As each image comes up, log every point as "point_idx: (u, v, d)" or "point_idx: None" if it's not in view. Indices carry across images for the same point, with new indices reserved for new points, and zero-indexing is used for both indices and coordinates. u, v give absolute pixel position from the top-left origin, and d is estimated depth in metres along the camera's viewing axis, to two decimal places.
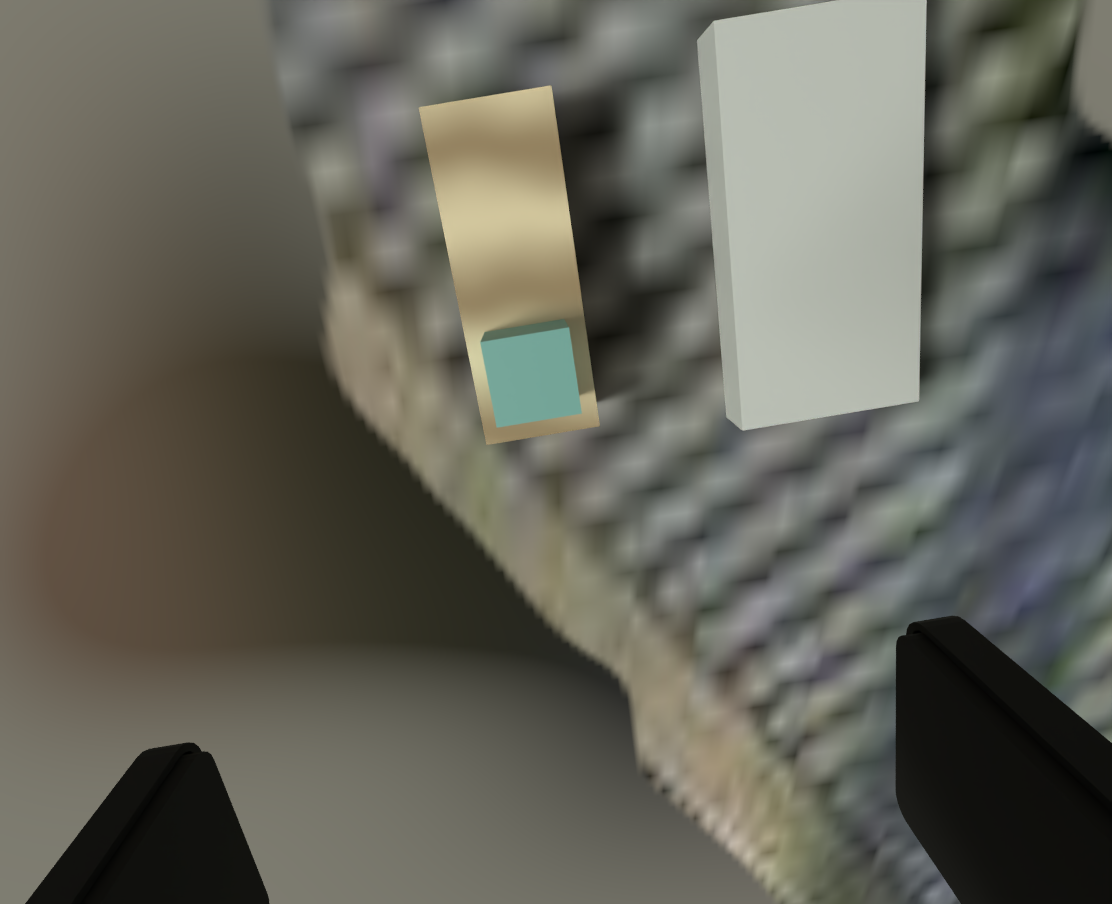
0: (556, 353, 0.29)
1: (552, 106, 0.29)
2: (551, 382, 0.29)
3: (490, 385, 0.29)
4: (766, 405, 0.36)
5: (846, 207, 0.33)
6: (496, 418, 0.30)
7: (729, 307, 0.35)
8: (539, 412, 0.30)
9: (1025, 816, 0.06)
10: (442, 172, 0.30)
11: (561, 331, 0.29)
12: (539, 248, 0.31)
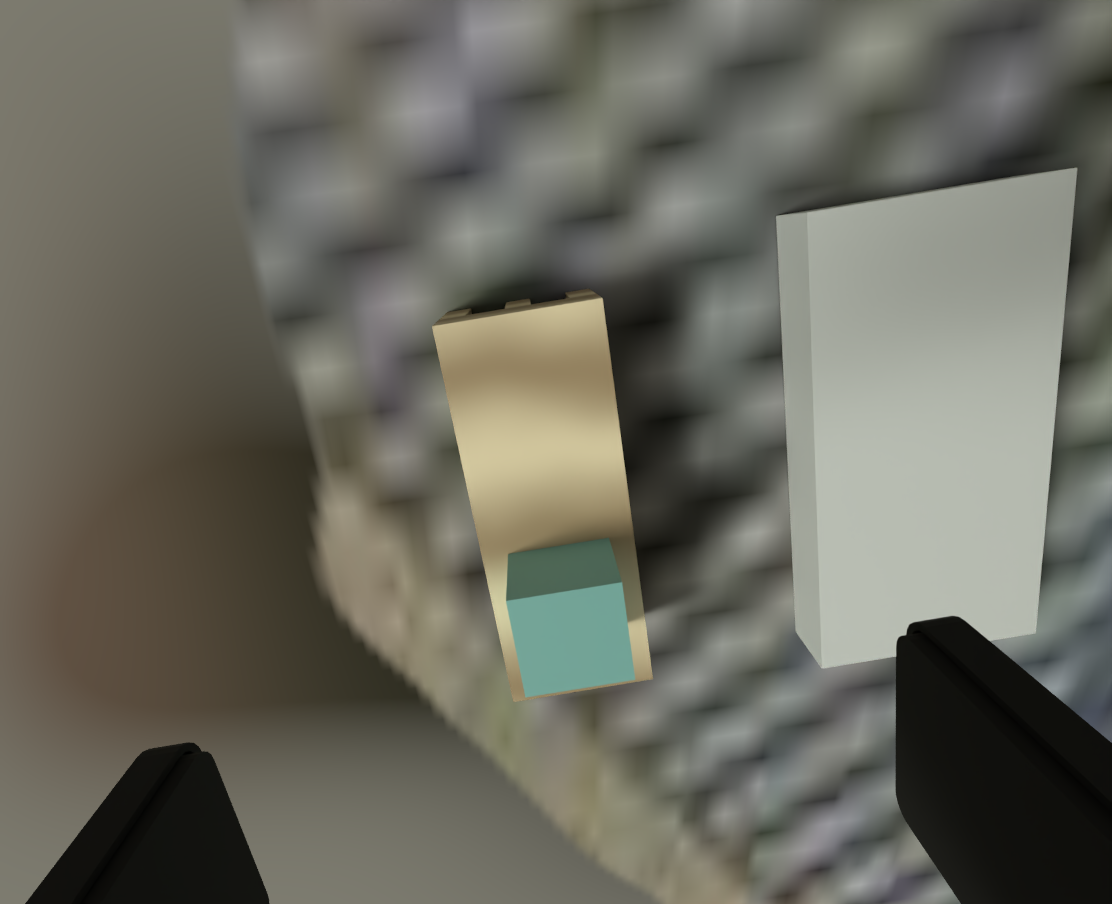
0: (605, 611, 0.22)
1: (603, 322, 0.23)
2: (597, 645, 0.23)
3: (518, 650, 0.22)
4: (852, 641, 0.29)
5: (962, 422, 0.26)
6: (525, 687, 0.23)
7: (810, 530, 0.28)
8: (580, 679, 0.23)
9: (1025, 816, 0.06)
10: (461, 401, 0.23)
11: (612, 587, 0.22)
12: (583, 485, 0.24)
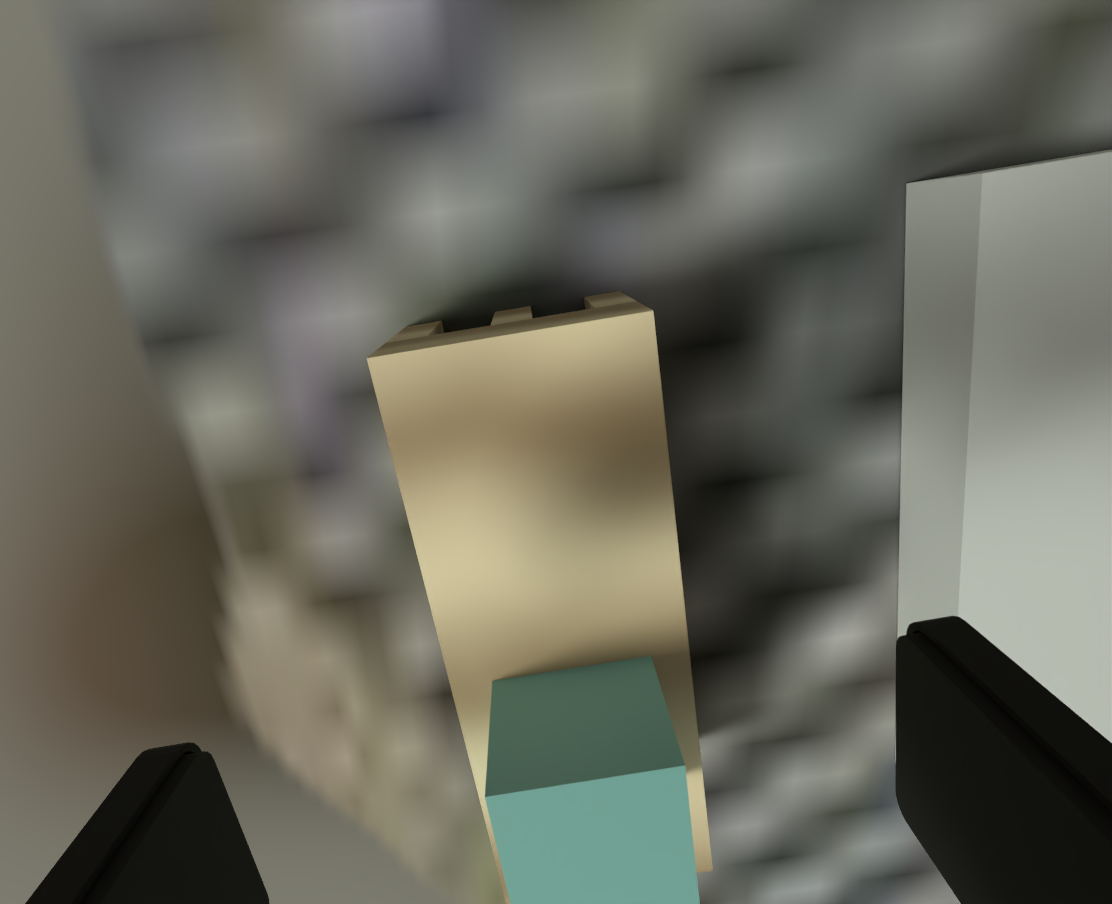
0: (654, 810, 0.13)
1: (653, 351, 0.14)
2: (638, 861, 0.13)
3: (506, 870, 0.13)
4: None
5: None
6: None
7: None
8: None
9: (1025, 816, 0.06)
10: (419, 478, 0.14)
11: (667, 772, 0.13)
12: (615, 604, 0.15)
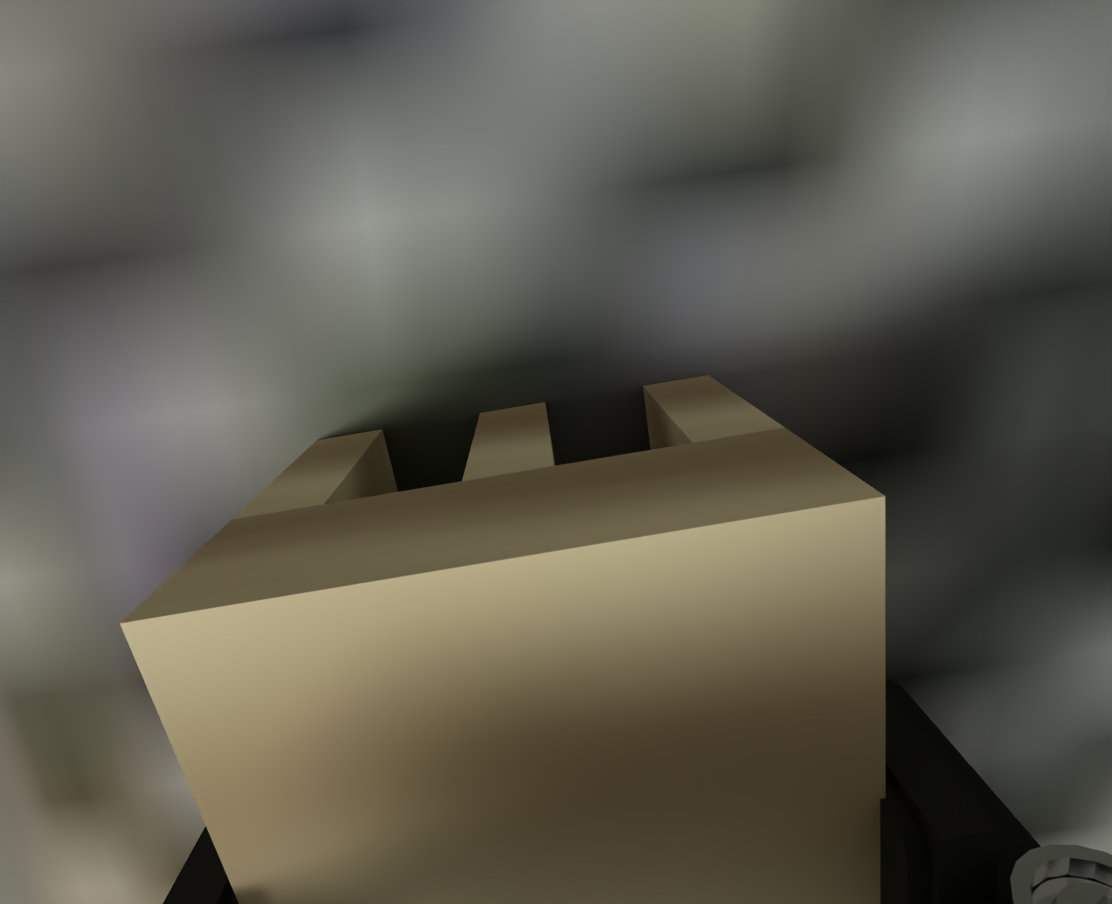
0: None
1: (875, 593, 0.05)
2: None
3: None
4: None
5: None
6: None
7: None
8: None
9: None
10: (283, 877, 0.06)
11: None
12: None
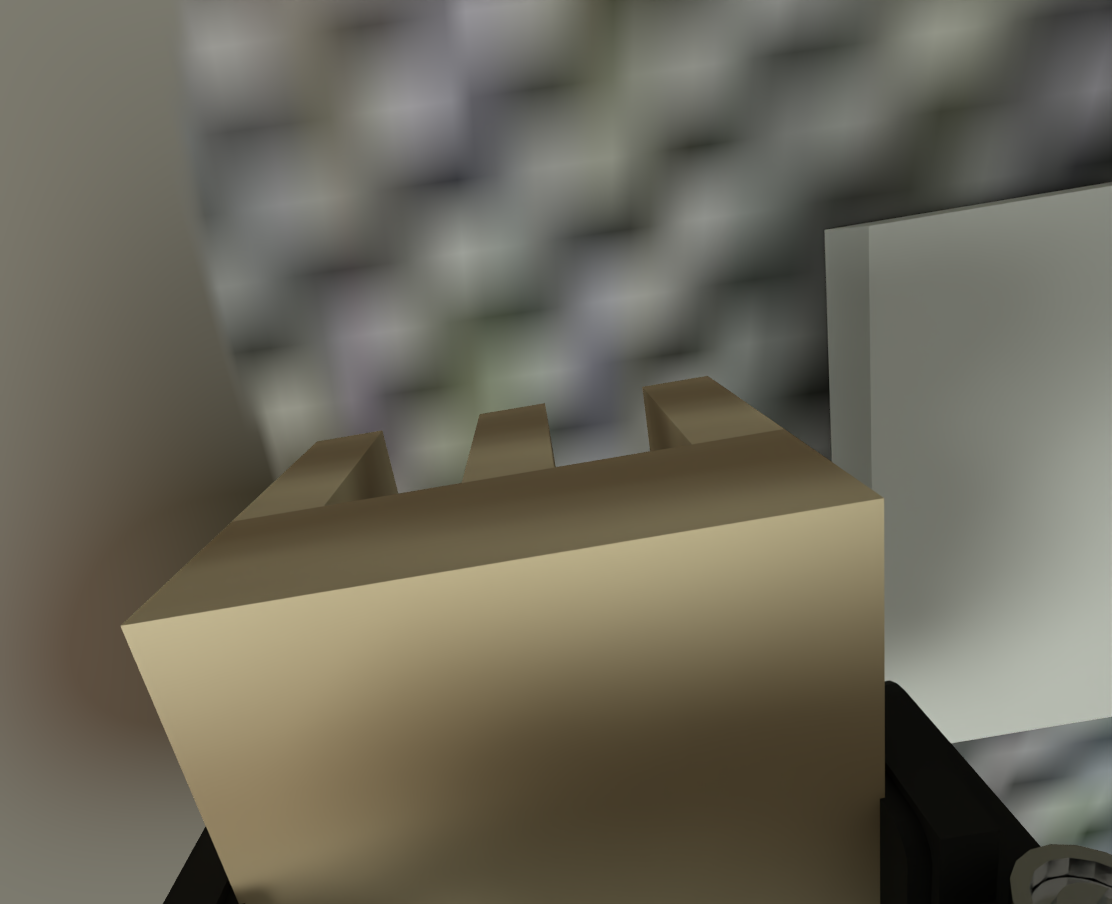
0: None
1: (875, 595, 0.05)
2: None
3: None
4: None
5: (1046, 473, 0.22)
6: None
7: None
8: None
9: None
10: (284, 879, 0.06)
11: None
12: None
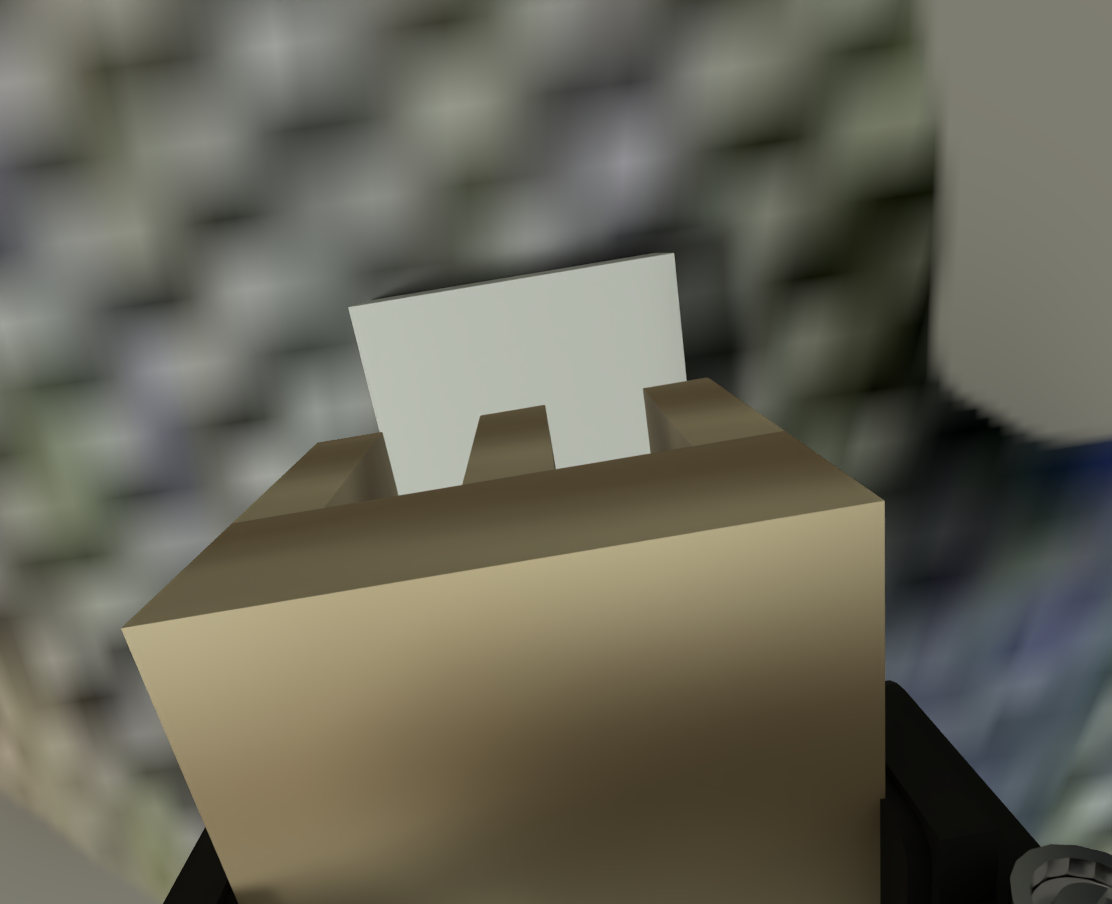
0: None
1: (875, 597, 0.05)
2: None
3: None
4: None
5: None
6: None
7: None
8: None
9: None
10: (284, 881, 0.06)
11: None
12: None
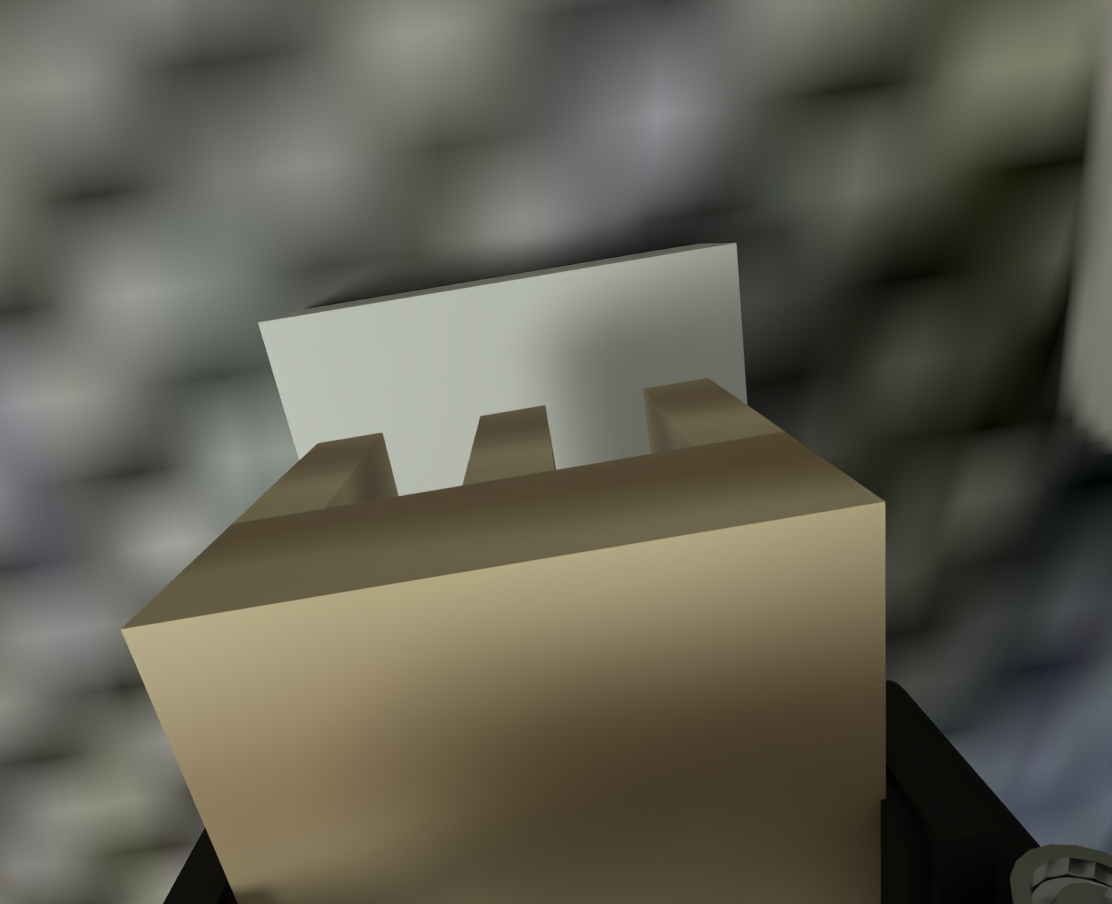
0: None
1: (876, 598, 0.05)
2: None
3: None
4: None
5: None
6: None
7: None
8: None
9: None
10: (285, 882, 0.06)
11: None
12: None
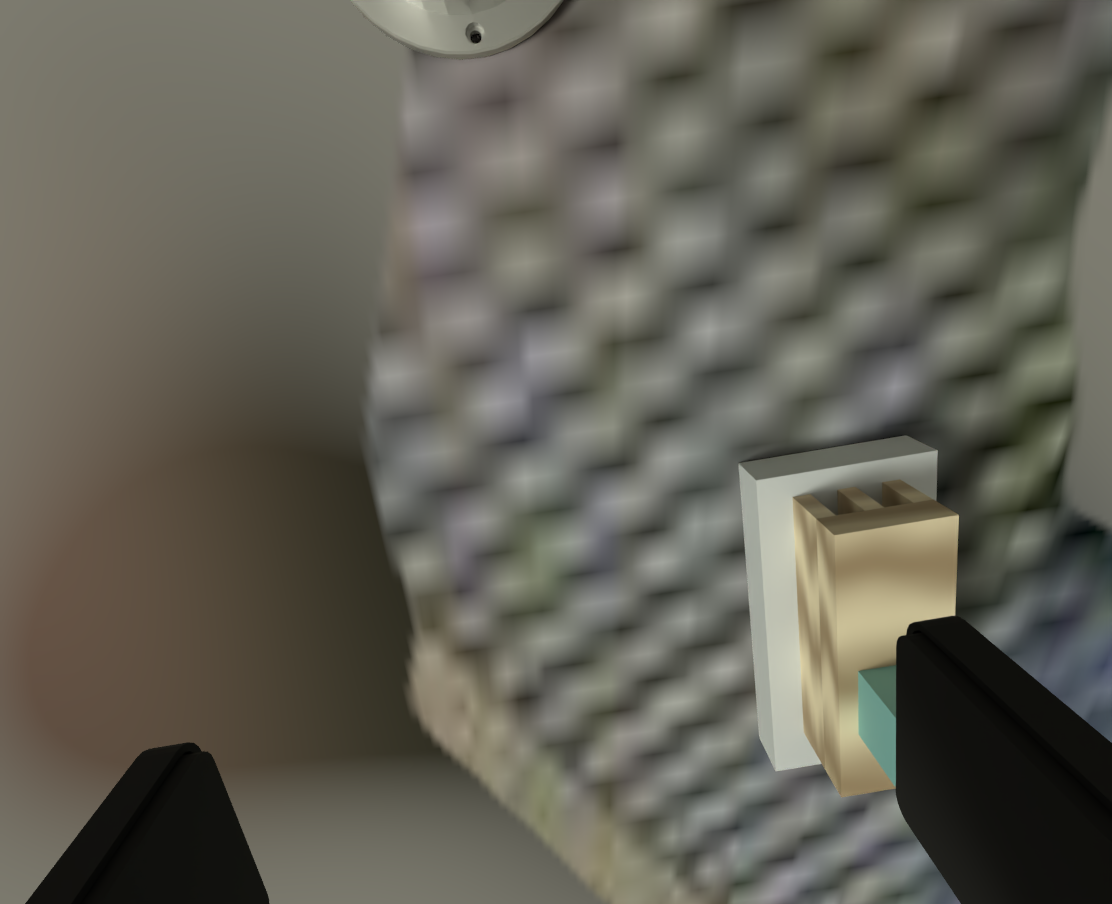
0: None
1: (956, 531, 0.31)
2: None
3: None
4: (797, 752, 0.41)
5: None
6: None
7: (765, 675, 0.40)
8: None
9: (1025, 816, 0.06)
10: (845, 585, 0.31)
11: None
12: None
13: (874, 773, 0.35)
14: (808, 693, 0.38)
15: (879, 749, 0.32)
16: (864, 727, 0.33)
